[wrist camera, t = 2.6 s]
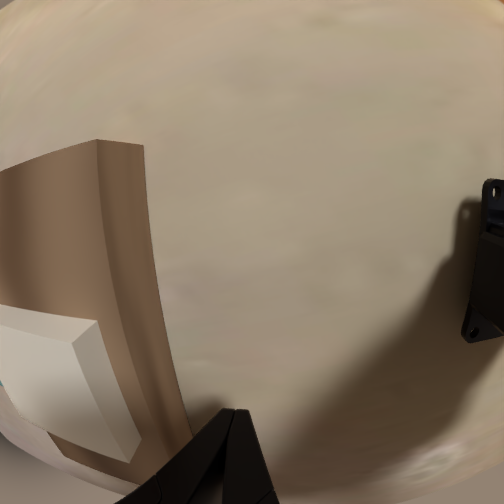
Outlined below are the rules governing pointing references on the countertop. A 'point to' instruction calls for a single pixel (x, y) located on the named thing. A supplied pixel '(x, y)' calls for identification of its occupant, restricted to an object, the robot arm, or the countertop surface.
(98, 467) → the wooden board
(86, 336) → the tile
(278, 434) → the countertop surface
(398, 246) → the countertop surface
